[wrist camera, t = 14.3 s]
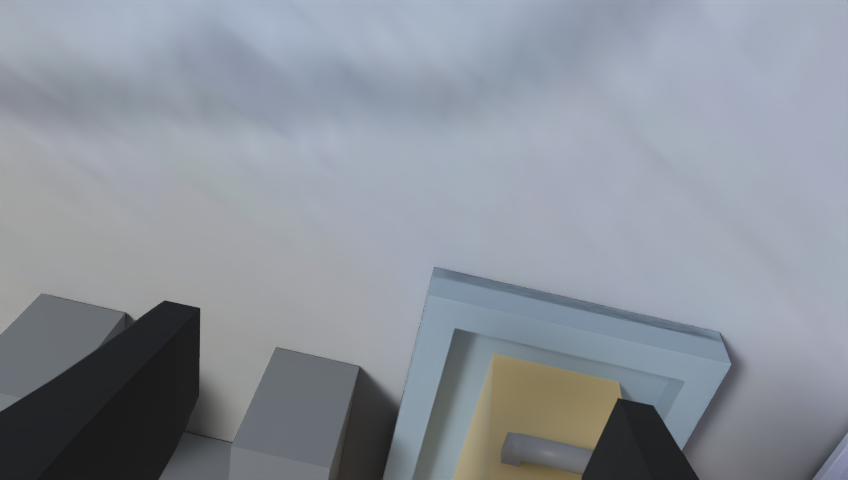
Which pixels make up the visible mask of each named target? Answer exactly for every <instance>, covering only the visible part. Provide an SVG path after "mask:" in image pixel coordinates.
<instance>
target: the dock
mask: <svg viewBox="0 0 848 480" xmlns="http://www.w3.org/2000/svg"><path fill="white" fill-rule="evenodd" d="M125 328H126V321H125V313H123V312H119V311H114V310H110V309H106V308H101V307H97V306H93V305H88V304H84V303H80V302H75V301H71V300H66V299H62V298H58V297H53V296H49V295H45V294H41V295H40V296H39V297H38V298H37V299H36V300H35V301H34V302H33V303H32V304H31V305H30V306H29V307H28V308H27V309H26V310H25V311H24V312H23V313H22V314H21V315H20V316H19V317H18V318H17V319H16V320H15V321H14V322H13V323H12V324H11V325H10V326H9V327H8V328H7V329H6V330H5V331H4V332H3V333H2V334H1V335H0V411H2V410H4V409H5V408H7V407H9V406H10V405H12V404H13V403H15V402H17V401H18V400H20V399H21V398H23V397H25V396H26V395H28V394H29V393H31V392H33V391H34V390H36V389H38V388H39V387H41V386H42V385H44V384H46V383H47V382H49V381H50V380H52V379H53V378H55V377H56V376H58V375H59V374H61V373H62V372H64V371H65V370H67V369H68V368H70V367H71V366H73V365H74V364H76V363H77V362H79V361H80V360H81V359H83V358H84V357H86V356H87V355H89V354H90V353H92V352H93V351H95V350H96V349H98V348H99V347H100V346H102V345H103V344H105V343H106V342H107V341H109V340H110V339H112V338H113V337H114V336H116V335H117V334H118V333H120V332H121V331H123V330H124V329H125ZM358 372H359V366H355V365H350V364H346V363H342V362H337V361H333V360H328V359H324V358H320V357H315V356H311V355H307V354H302V353H298V352H293V351H289V350H285V349H280V348H275V351H274V353H273V355H272V357H271V359H270V362H269V364H268V366H267V368H266V370H265V373H264V375H263V377H262V379H261V381H260V384H259V386H258V388H257V390H256V392H255V395H254V397H253V399H252V401H251V403H250V406H249V408H248V410H247V412H246V415H245V417H244V419H243V421H242V423H241V426H240V428H239V430H238V432H237V434H236V437H235V439H234V441H233V443H230V442H226V441H221V440H217V439H212V438H208V437H204V436H199V435H195V434H190V433H186V432H183V434H182V436H181V439H180V441H179V443H178V446H177V448H176V450H175V452H174V453H173V455H172V457H171V459H170V460H169V462H168V464H167V466H166V468H165V469H164V471H163V473H162V475H161V476H160V478H159V480H337V479H338V474H339V468H340V463H341V458H342V453H343V448H344V443H345V438H346V433H347V428H348V423H349V418H350V413H351V407H352V402H353V397H354V392H355V387H356V382H357V377H358Z"/></svg>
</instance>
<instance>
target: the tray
mask: <svg viewBox="0 0 848 480" xmlns="http://www.w3.org/2000/svg"><path fill="white" fill-rule="evenodd" d="M493 354H499V355H503V356H508V357H512V358H516V359H521V360H525V361H529V362H534V363H538V364H542V365H547V366H551V367H556V368H560V369H564V370H569V371H573V372H577V373H582V374H586V375H591V376H595V377H599V378H604V379H608V380H612V381H617V382H619V385H620V391H621V396H622V399H625V400H630V401H635V402H639V403H644V404H649V405H653V406H654V407H655V409H656V410H657V412H658V414H659V415H660V417H661V418H662V420H663V422H664V423H665V425H666V427H667V428H668V430H669V432H670V433H671V435H672V436H673V438H674V440H675V441H676V443H677V445H678V446H679V448H680V450H681V451H682V449H683V447H684V446H685V444H686V442H687V440H688V439H689V437H690V435H691V434H692V432H693V430H694V428H695V427H696V425H697V423H698V421H699V420H700V418H701V416H702V415H703V413H704V411H705V409H706V408H707V406H708V404H709V402H710V401H711V399H712V397H713V396H714V394H715V392H716V390H717V389H718V387H719V385H720V383H721V382H722V380H723V378H724V376H725V375H726V373H727V371H728V370H729V368H730V366H731V362H730V359H729V357H728V354H727V351H726V349H725V346H724V343H723V341H722V338H721V336H720V333H719V332H715V331H710V330H706V329H702V328H697V327H693V326H689V325H684V324H680V323H676V322H671V321H667V320H663V319H658V318H654V317H649V316H645V315H641V314H636V313H632V312H628V311H623V310H619V309H615V308H610V307H606V306H602V305H597V304H593V303H589V302H584V301H580V300H575V299H571V298H567V297H562V296H558V295H554V294H549V293H545V292H541V291H536V290H532V289H528V288H523V287H519V286H515V285H510V284H506V283H501V282H497V281H493V280H488V279H484V278H480V277H475V276H471V275H467V274H462V273H458V272H454V271H449V270H445V269H441V268H436V267H434V270H433V274H432V278H431V282H430V286H429V290H428V294H427V298H426V302H425V306H424V310H423V314H422V319H421V323H420V327H419V331H418V335H417V339H416V343H415V347H414V351H413V355H412V359H411V363H410V367H409V371H408V375H407V379H406V383H405V387H404V391H403V395H402V399H401V403H400V407H399V411H398V415H397V419H396V423H395V427H394V431H393V435H392V439H391V443H390V447H389V451H388V456H387V460H386V464H385V468H384V472H383V476H382V480H452V478H453V475H454V472H455V469H456V466H457V463H458V460H459V457H460V454H461V451H462V448H463V445H464V442H465V439H466V436H467V433H468V430H469V427H470V424H471V421H472V418H473V415H474V412H475V409H476V406H477V403H478V400H479V397H480V394H481V391H482V387H483V384H484V381H485V378H486V375H487V372H488V369H489V366H490V363H491V360H492V357H493Z"/></svg>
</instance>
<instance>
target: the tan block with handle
mask: <svg viewBox="0 0 848 480" xmlns="http://www.w3.org/2000/svg"><path fill="white" fill-rule="evenodd" d="M618 398H621V399H622V396H621V391H620V385H619V382H617V381H612V380H608V379H604V378H599V377H595V376H591V375H586V374H582V373H577V372H573V371H569V370H564V369H560V368H556V367H551V366H547V365H542V364H538V363H534V362H529V361H525V360H521V359H516V358H512V357H508V356H503V355H499V354H493V357H492V360H491V363H490V366H489V369H488V372H487V375H486V378H485V381H484V384H483V387H482V391H481V394H480V397H479V400H478V403H477V406H476V409H475V412H474V415H473V418H472V421H471V424H470V427H469V430H468V433H467V436H466V439H465V442H464V445H463V448H462V451H461V454H460V457H459V460H458V463H457V466H456V469H455V472H454V475H453V478H452V480H582V475H583V473H584V471H585V468H586V466H587V464H588V462H589V460H590V458H591V455H592V453H593V451H594V449H595V447H596V445H597V442H598V440H599V438H600V436H601V434H602V432H603V429H604V427H605V425H606V423H607V421H608V419H609V416H610V414H611V412H612V410H613V408H614V406H615V403H616V401H617V399H618Z"/></svg>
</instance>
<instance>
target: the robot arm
mask: <svg viewBox="0 0 848 480" xmlns="http://www.w3.org/2000/svg"><path fill="white" fill-rule="evenodd" d="M199 358H200V308H197V307H192V306H188V305H183V304H178V303H174V302H169V301H163V302H162V303H160V304H159V305H157V306H156V307H154V308H153V309H151V310H150V311H149V312H147V313H146V314H145V315H143V316H142V317H140V318H139V319H138V320H136V321H135V322H134V323H132V324H131V325H129V326H128V327H127V328H125V329H124V330H123V331H121V332H120V333H118V334H117V335H116V336H114V337H113V338H112V339H110V340H109V341H107V342H106V343H105V344H103V345H102V346H100V347H99V348H98V349H96V350H95V351H93V352H92V353H90V354H89V355H87V356H86V357H84V358H83V359H81V360H80V361H79V362H77V363H76V364H74V365H73V366H71V367H70V368H68V369H67V370H65V371H64V372H62V373H61V374H59V375H58V376H56V377H55V378H53V379H52V380H50V381H49V382H47V383H46V384H44V385H42V386H41V387H39V388H38V389H36V390H34V391H33V392H31V393H29V394H28V395H26V396H25V397H23V398H21V399H20V400H18V401H17V402H15V403H13V404H12V405H10V406H9V407H7V408H5V409H4V410H2V411H0V480H159V478H160V476H161V475H162V473H163V471H164V469H165V468H166V466H167V464H168V462H169V460H170V459H171V457H172V455H173V453H174V452H175V450H176V448H177V446H178V443H179V441H180V439H181V436H182V434H183V432H184V430H185V427H186V425H187V423H188V420H189V418H190V415H191V413H192V411H193V408H194V406H195V403H196V401H197V399H198V396H199ZM582 480H699V479H698V477H697V475H696V474H695V472H694V471H693V469H692V467H691V466H690V464H689V463H688V461H687V459H686V458H685V456H684V454H683V453H682V451H681V450H680V448H679V446H678V445H677V443H676V441H675V440H674V438H673V436H672V435H671V433H670V432H669V430H668V428H667V427H666V425H665V423H664V422H663V420H662V418H661V417H660V415H659V414H658V412H657V410H656V409H655V407H654V406H653V405H649V404H644V403H639V402H635V401H630V400H625V399H621V398H618V399H617V401H616V403H615V406H614V408H613V410H612V412H611V414H610V416H609V419H608V421H607V423H606V425H605V427H604V429H603V432H602V434H601V436H600V438H599V440H598V442H597V445H596V447H595V449H594V451H593V453H592V455H591V458H590V460H589V462H588V464H587V466H586V468H585V471H584V473H583V475H582ZM812 480H848V433H847V434H846V435H845V437H844V438H843V439H842V441H841V442H840V443H839V445H838V446H837V447H836V449H835V450H834V451H833V453H832V454H831V455H830V457H829V458H828V459H827V461H826V462H825V463H824V465H823V466H822V467H821V469H820V470H819V471H818V473H817V474H816V475H815V477H814V478H813V479H812Z"/></svg>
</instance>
